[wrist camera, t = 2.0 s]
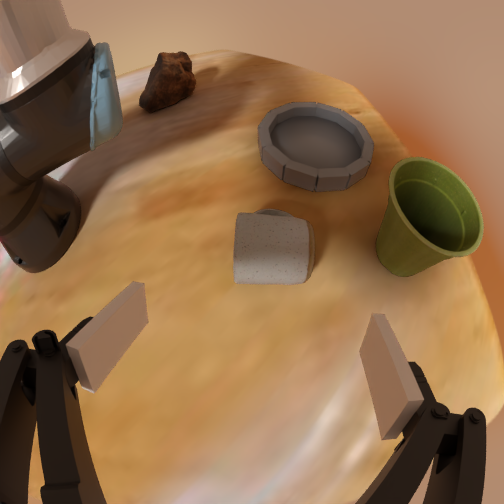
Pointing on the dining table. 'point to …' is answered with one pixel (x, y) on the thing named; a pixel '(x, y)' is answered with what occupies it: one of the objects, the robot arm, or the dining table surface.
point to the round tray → (315, 146)
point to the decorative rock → (168, 81)
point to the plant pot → (427, 218)
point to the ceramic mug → (273, 248)
